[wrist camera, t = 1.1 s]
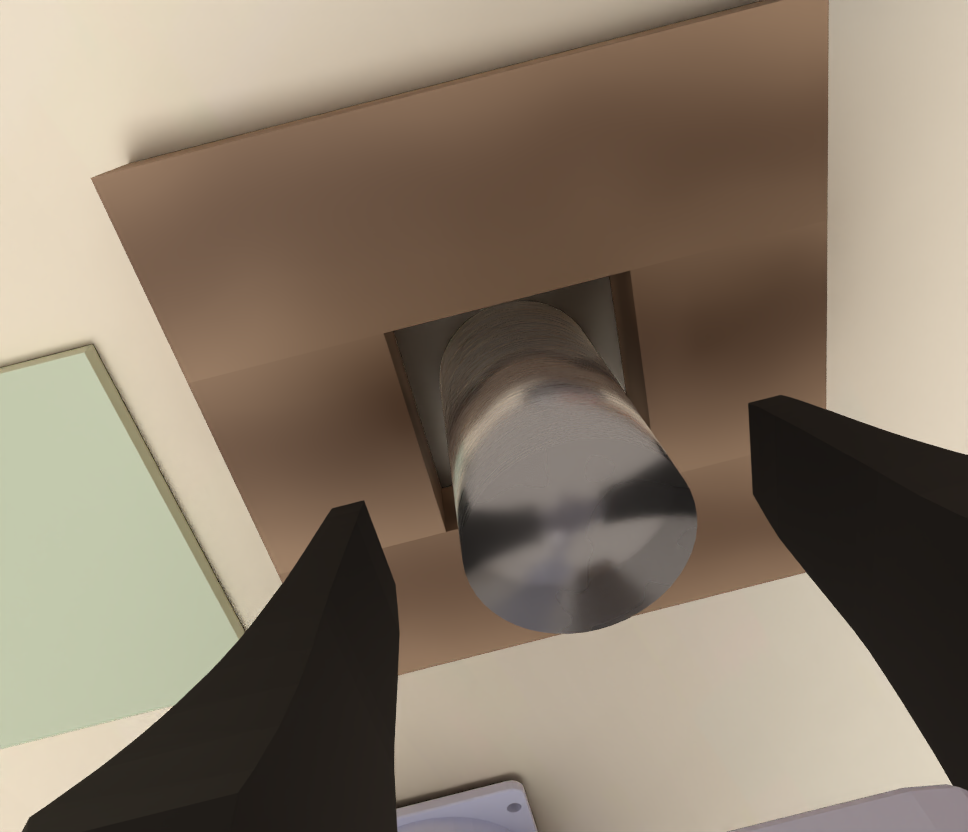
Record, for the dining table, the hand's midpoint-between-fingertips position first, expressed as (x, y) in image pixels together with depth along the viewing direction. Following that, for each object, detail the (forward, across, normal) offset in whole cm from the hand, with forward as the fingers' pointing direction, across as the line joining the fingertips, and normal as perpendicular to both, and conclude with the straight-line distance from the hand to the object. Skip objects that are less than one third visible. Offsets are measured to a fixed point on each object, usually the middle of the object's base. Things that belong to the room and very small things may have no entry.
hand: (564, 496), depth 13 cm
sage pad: (+6, +15, +2) cm, 16 cm away
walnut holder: (+6, 0, 0) cm, 6 cm away
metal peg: (+6, 0, 0) cm, 6 cm away
